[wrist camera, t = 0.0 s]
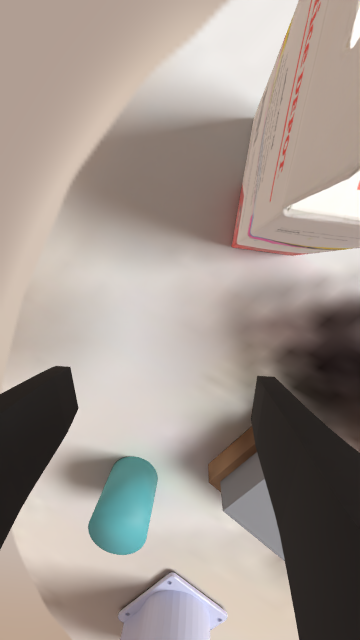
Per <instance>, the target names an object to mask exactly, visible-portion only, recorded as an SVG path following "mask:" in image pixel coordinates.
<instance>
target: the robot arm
mask: <svg viewBox="0 0 360 640" xmlns="http://www.w3.org/2000/svg"><path fill="white" fill-rule="evenodd" d="M77 410H78V404H77V399H76V394H75V389H74V384H73V379H72V374H71V368H70V367H63V366H55V367H52V368H50V369H48V370H46V371H44V372H42V373H40V374H38V375H36V376H34V377H32V378H30V379H28V380H26V381H24V382H22V383H21V384H19V385H17V386H15V387H13V388H11V389H9V390H7V391H5V392H4V393H2V394H0V549H1V547H2V545H3V543H4V541H5V539H6V537H7V535H8V533H9V531H10V529H11V527H12V525H13V523H14V521H15V519H16V517H17V515H18V514H19V512H20V510H21V508H22V506H23V504H24V503H25V501H26V499H27V497H28V496H29V494H30V492H31V491H32V489H33V487H34V486H35V484H36V482H37V481H38V479H39V478H40V476H41V474H42V473H43V471H44V470H45V468H46V466H47V465H48V463H49V462H50V460H51V458H52V457H53V455H54V454H55V452H56V450H57V449H58V447H59V445H60V444H61V442H62V441H63V439H64V437H65V436H66V434H67V432H68V430H69V428H70V426H71V424H72V422H73V419H74V417H75V415H76V412H77ZM251 421H252V428H253V434H254V440H255V446H256V450H257V453H258V457H259V460H260V464H261V468H262V471H263V475H264V478H265V482H266V485H267V489H268V492H269V496H270V499H271V503H272V506H273V510H274V513H275V517H276V521H277V525H278V529H279V534H280V539H281V544H282V549H283V554H284V559H285V564H286V569H287V574H288V580H289V585H290V590H291V596H292V601H293V607H294V612H295V618H296V623H297V629H298V635H299V640H360V453H359V452H358V451H356V450H355V449H354V448H353V447H351V446H350V445H349V444H348V443H346V442H345V441H344V440H343V439H342V438H340V437H339V436H338V435H337V434H336V433H334V432H333V431H332V430H331V429H330V428H328V427H327V426H326V425H325V424H324V423H323V422H322V421H320V420H319V419H318V418H317V417H316V416H315V415H314V414H313V413H312V412H311V411H309V410H308V409H307V408H306V407H305V406H304V405H303V404H302V403H301V402H300V401H299V400H298V399H297V398H296V397H295V396H294V395H293V394H292V393H291V392H290V391H289V390H287V389H286V388H285V387H284V386H283V385H282V384H281V383H280V382H279V381H278V380H277V379H276V378H275V377H266V376H257V382H256V389H255V396H254V403H253V409H252V416H251ZM118 619H119V620H120V621H121V622H123V623H124V624H123V629H122V634H121V638H120V640H210V630H212V629H213V628H215V627H216V626H218V625H219V624H221V623H222V622H224V621H225V620H226V619H227V612H226V611H225V610H224V609H222V608H221V607H220V606H218V605H217V604H216V603H214V602H213V601H212V600H210V599H209V598H208V597H206V596H205V595H204V594H202V593H201V592H200V591H198V590H197V589H196V588H194V587H193V586H192V585H190V584H189V583H188V582H186V581H185V580H184V579H182V578H181V577H180V576H178V575H177V574H176V573H173V572H171V573H169V574H168V575H166V576H165V577H164V578H163V579H161V580H160V581H159V582H157V583H156V584H155V585H153V586H152V587H151V588H150V589H148V590H147V591H146V592H144V593H143V594H142V595H140V596H139V597H138V598H137V599H135V600H134V601H133V602H131V603H130V604H129V605H128V606H126V607H125V608H124V609H122V610H121V611H120V612H119V614H118Z"/></svg>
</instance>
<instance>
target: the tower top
mask: <svg viewBox="0 0 360 640" xmlns="http://www.w3.org/2000/svg"><path fill="white" fill-rule="evenodd" d="M220 485H221V495H222V506H223V511H224V512H225V513H226V514H227V515H229V516H230V517H231V518H232V519H234V520H235V521H236V522H237V523H238V524H240V525H241V526H242V527H243V528H245V529H246V530H247V531H248V532H250V533H251V534H252V535H253V536H254V537H256V538H257V539H258V540H259V541H261V542H262V543H263V544H264V545H265V546H267V547H268V548H269V549H270V550H272V551H273V552H274V553H275V554H277V555H278V556H279V557H280V558H281V559H283V560H284V561H285V559H284V554H283V549H282V544H281V539H280V534H279V529H278V525H277V521H276V517H275V513H274V510H273V506H272V503H271V499H270V496H269V492H268V489H267V485H266V482H265V478H264V475H263V471H262V468H261V464H260V460H259V457H258V453H257V452H256V453H255V454H254V455H252V456H251V457H250V458H249V459H247V460H246V461H245V462H244V463H242V464H241V465H240V466H239V467H238V468H236V469H235V470H234V471H233V472H231V473H230V474H229V475H228V476H226V477H225V478H224V479H223V480H222V481H220Z"/></svg>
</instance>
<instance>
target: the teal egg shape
mask: <svg viewBox="0 0 360 640" xmlns="http://www.w3.org/2000/svg"><path fill="white" fill-rule="evenodd" d="M157 480H158V477H157V473H156V470H155V469H154V467H153V466H152V465H151V464H150V463H149V462H148V461H146V460H144V459H142V458H139V457H125V458H122V459H120V460H118V461H117V462H116V463H115V464H114V466H113V468H112V470H111V472H110V475H109V477H108V479H107V482H106V484H105V486H104V489H103V491H102V493H101V496H100V498H99V500H98V503H97V505H96V507H95V510H94V512H93V514H92V517H91V519H90V521H89V525H88V530H89V534H90V537H91V538H92V540H93V541H94V543H95V544H96V545H97V546H99V547H100V548H101V549H103V550H105V551H107V552H109V553H113V554H117V555H127V554H131V553H134V552H136V551H138V550H139V549H140V548H142V546H143V545H144V543H145V541H146V537H147V532H148V527H149V522H150V517H151V512H152V506H153V501H154V496H155V491H156V486H157Z"/></svg>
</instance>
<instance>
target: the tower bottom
mask: <svg viewBox="0 0 360 640" xmlns="http://www.w3.org/2000/svg"><path fill="white" fill-rule="evenodd" d="M256 452H257V450H256V446H255V440H254V434H253V428H252V427H250V428H249V429H248V430H247V431H246V432H245V433H244V434H242V435H241V436H240V437H239V438H238V439H237V440H236V441H234V442H233V443H232V444H231V445H230V446H229V447H228V448H226V449H225V450H224V451H223V452H222V453H221V454H220V455H218V456H217V457H216V458H215V459H214V460H213V461H212V462H210V463H209V464H208V472H209V483H210V484H211V485H213V486H214V487H215V488H216V489H218V490H219V491H220V492H221V485H220V481H222V480H223V479H224V478H225V477H226V476H228V475H229V474H230V473H231V472H233V471H234V470H235V469H236V468H238V467H239V466H240V465H241V464H242V463H244V462H245V461H246V460H247V459H249V458H250V457H251V456H252V455H254V454H255V453H256Z"/></svg>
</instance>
